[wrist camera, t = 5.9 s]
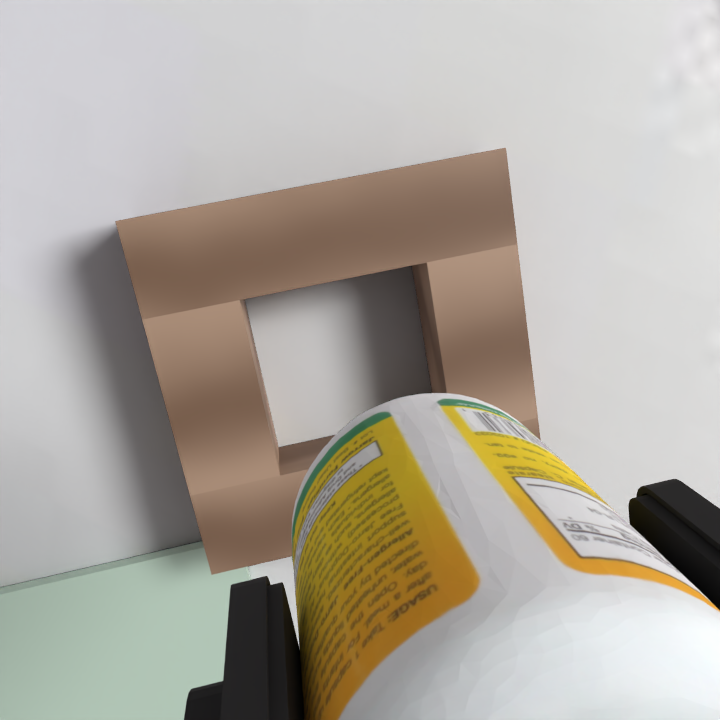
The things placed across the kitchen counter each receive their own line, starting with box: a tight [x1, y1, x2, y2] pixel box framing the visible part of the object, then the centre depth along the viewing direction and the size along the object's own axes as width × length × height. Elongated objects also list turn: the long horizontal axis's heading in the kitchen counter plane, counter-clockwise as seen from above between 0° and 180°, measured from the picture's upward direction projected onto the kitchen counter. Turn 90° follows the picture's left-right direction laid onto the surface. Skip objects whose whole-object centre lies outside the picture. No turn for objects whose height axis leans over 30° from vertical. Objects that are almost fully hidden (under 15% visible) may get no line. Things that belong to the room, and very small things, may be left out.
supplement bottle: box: [292, 393, 720, 720], centre depth 9 cm, size 5×5×10 cm
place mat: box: [0, 541, 251, 720], centre depth 31 cm, size 12×12×1 cm
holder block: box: [115, 148, 541, 575], centre depth 27 cm, size 14×14×3 cm
